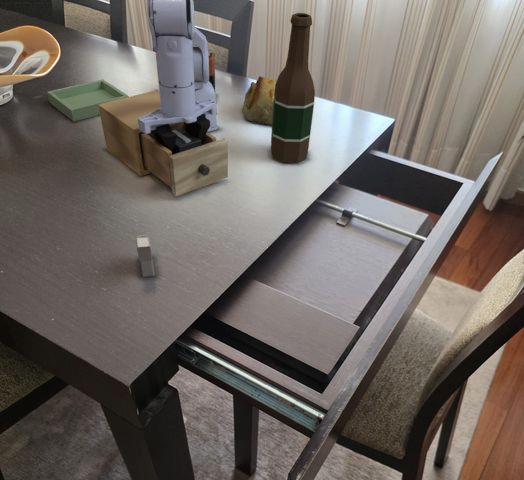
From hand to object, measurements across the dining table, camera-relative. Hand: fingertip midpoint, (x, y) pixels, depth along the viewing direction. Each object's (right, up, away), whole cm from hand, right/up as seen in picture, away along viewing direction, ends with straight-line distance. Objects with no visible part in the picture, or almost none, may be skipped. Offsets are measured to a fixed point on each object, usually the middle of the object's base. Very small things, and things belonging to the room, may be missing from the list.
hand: (182, 162), depth 88 cm
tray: (-24, +21, +21) cm, 38 cm away
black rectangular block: (0, -1, +1) cm, 1 cm away
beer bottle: (+20, +5, +10) cm, 23 cm away
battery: (0, +26, +27) cm, 37 cm away
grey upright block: (-2, -23, -16) cm, 28 cm away
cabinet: (-7, +5, +8) cm, 11 cm away
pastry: (+16, +19, +22) cm, 33 cm away
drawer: (+1, -2, +1) cm, 2 cm away
